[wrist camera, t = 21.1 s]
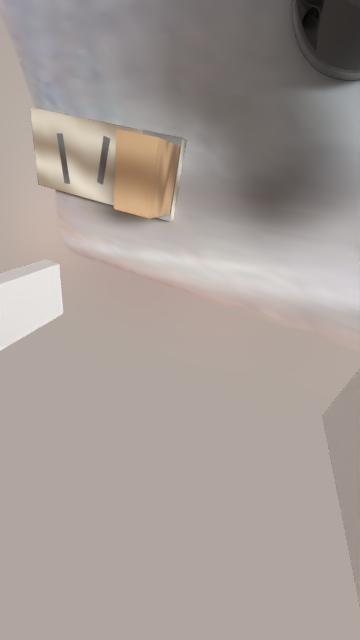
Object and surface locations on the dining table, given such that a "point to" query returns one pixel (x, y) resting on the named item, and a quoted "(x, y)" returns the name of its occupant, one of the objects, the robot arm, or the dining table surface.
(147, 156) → the brown cardboard box
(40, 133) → the board
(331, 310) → the dining table surface
